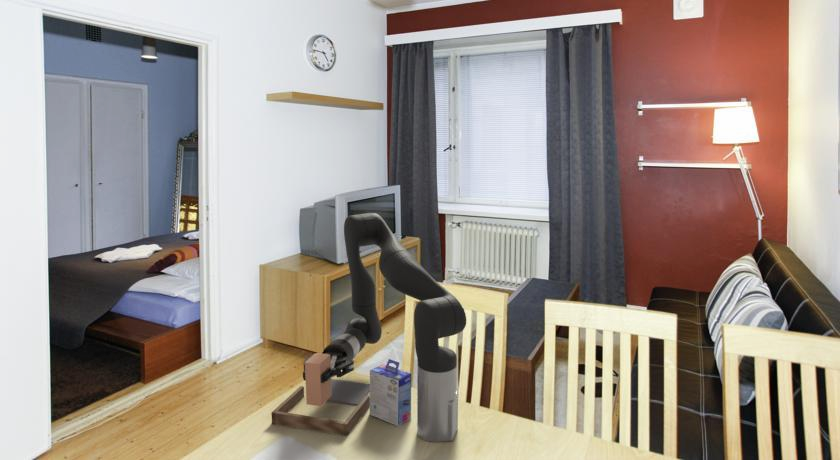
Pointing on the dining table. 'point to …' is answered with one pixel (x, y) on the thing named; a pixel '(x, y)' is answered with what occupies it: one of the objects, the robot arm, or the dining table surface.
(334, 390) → the charcoal mat
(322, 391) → the tall peach block
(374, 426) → the dining table surface
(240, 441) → the dining table surface
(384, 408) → the ink cartridge box
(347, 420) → the walnut open frame
